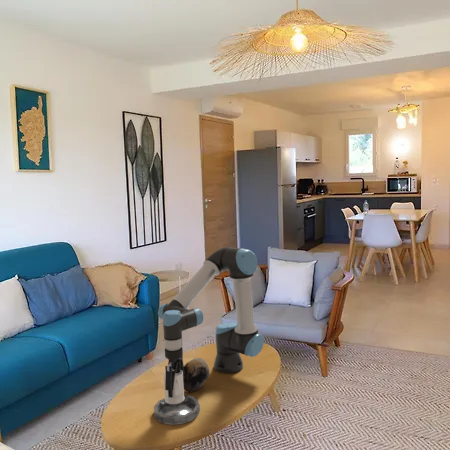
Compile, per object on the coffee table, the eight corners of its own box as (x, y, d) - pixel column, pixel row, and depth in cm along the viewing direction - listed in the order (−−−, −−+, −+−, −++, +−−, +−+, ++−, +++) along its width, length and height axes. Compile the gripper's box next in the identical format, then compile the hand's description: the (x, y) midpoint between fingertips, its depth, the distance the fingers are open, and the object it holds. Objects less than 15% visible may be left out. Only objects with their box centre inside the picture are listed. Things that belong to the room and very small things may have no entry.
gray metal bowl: (195, 398, 210) (194, 392, 209) (203, 420, 191) (202, 413, 191) (153, 405, 205) (152, 398, 205) (157, 428, 187) (156, 421, 186)
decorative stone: (202, 380, 227) (200, 351, 226) (214, 385, 221) (213, 355, 220) (174, 394, 215) (173, 363, 213) (187, 400, 209) (186, 368, 207)
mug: (189, 405, 192) (187, 378, 191) (168, 409, 189) (167, 381, 188) (181, 393, 203) (180, 367, 202) (162, 397, 200) (161, 370, 199)
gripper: (174, 337, 206) (177, 385, 209) (154, 356, 185) (157, 409, 188) (190, 338, 204) (192, 387, 206) (171, 358, 183) (174, 411, 186)
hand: (176, 398), depth 197 cm, fingers closed on mug, 9 cm apart
